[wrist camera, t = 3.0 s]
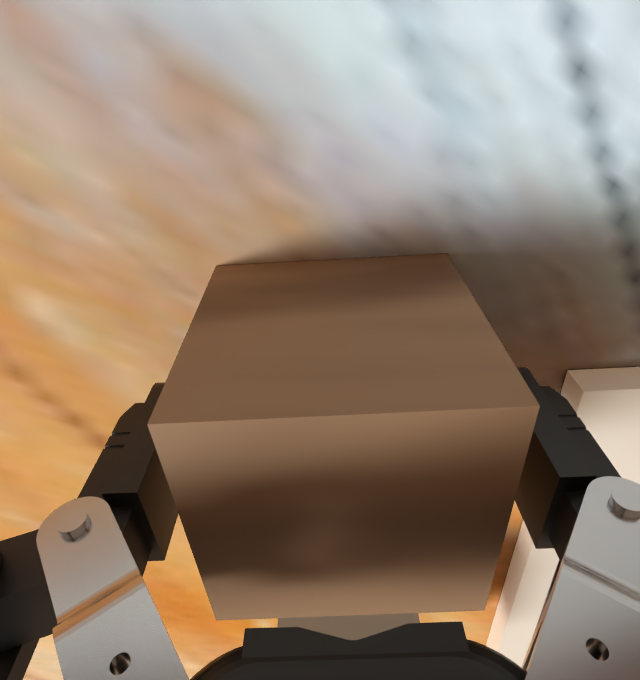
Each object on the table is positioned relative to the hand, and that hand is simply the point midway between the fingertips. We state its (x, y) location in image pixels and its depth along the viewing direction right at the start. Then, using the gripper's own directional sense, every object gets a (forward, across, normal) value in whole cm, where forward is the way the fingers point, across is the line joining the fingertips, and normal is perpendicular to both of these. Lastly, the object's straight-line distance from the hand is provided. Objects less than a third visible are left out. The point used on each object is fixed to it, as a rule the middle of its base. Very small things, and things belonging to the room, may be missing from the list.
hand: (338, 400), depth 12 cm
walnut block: (+2, 0, 0) cm, 2 cm away
